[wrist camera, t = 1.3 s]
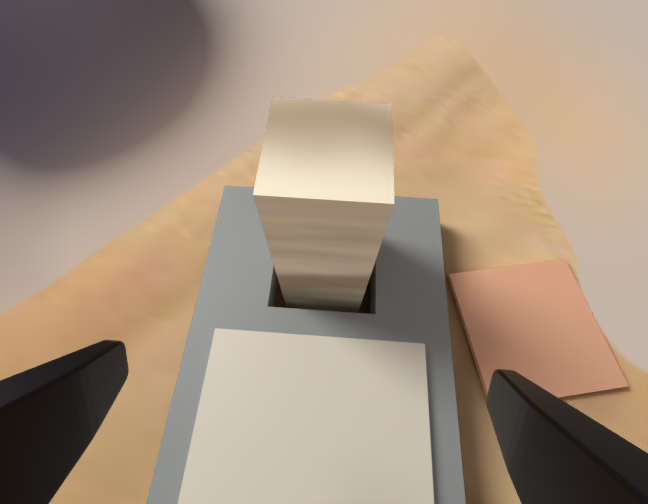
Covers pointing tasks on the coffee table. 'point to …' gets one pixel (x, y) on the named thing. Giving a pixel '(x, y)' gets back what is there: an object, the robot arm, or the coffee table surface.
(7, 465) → the robot arm
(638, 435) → the coffee table surface
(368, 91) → the coffee table surface
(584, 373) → the pad
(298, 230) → the block
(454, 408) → the puzzle board
